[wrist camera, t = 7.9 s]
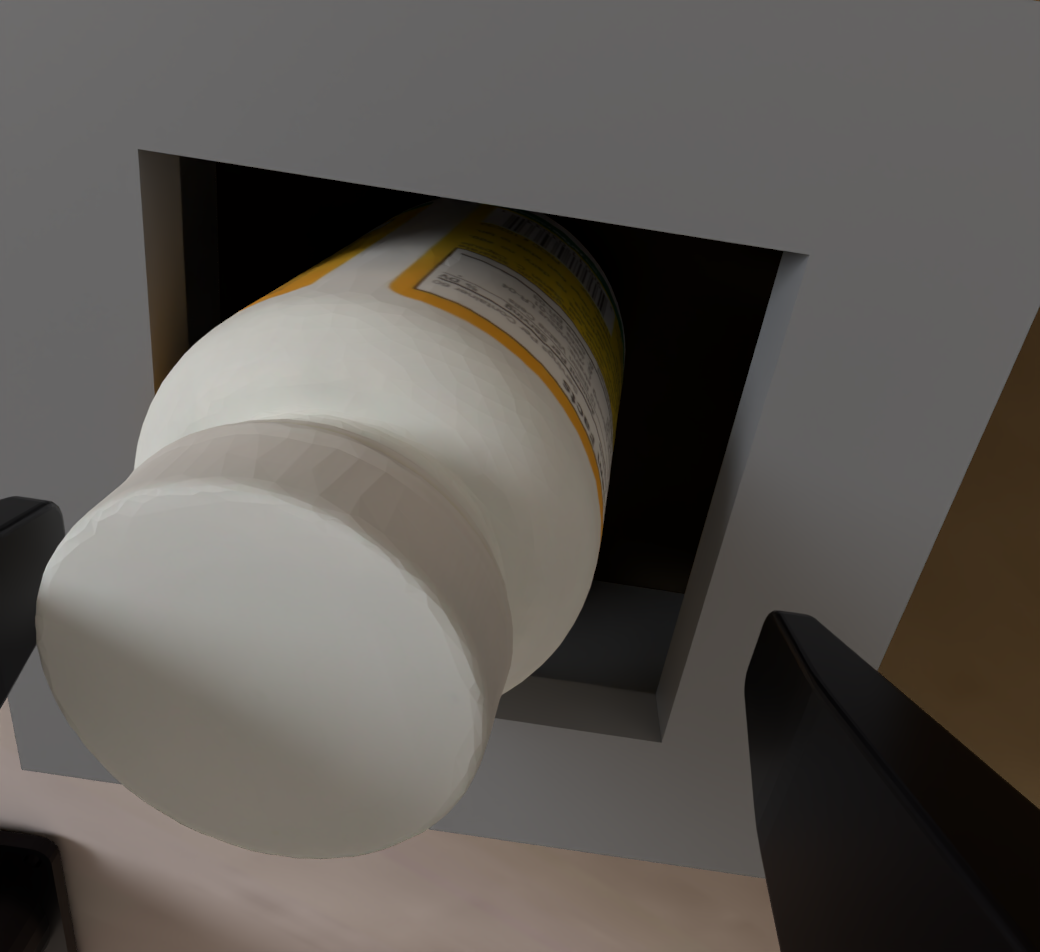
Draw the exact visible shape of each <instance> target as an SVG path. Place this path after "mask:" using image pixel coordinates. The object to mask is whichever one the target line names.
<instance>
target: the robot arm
mask: <svg viewBox="0 0 1040 952" xmlns="http://www.w3.org/2000/svg"><path fill="white" fill-rule="evenodd" d="M65 536H66V535H65V527H64V520H63V515H62V512H61V510H60V508H59V506H58V505H56V504H55V503H54V502H52V501H48V500H41V499H35V498H28V497H22V496H11V497H7V498H4V499H1V500H0V708H1V707H2V705H3V703H4V702H5V700H6V698H7V697H8V695H9V693H10V691H11V689H12V688H13V686H14V684H15V682H16V681H17V679H18V677H19V675H20V673H21V672H22V670H23V668H24V666H25V664H26V663H27V661H28V659H29V657H30V655H31V654H32V652H33V650H34V648H35V647H36V645H37V644H36V628H35V616H36V601H37V597H38V592H39V588H40V584H41V581H42V577H43V573H44V571H45V568H46V566H47V564H48V562H49V560H50V558H51V557H52V555H53V553H54V552H55V550H56V548H57V547H58V545H59V544H60V542H61V541H62V540H63V539H64V537H65ZM744 698H745V710H746V722H747V733H748V745H749V756H750V768H751V780H752V791H753V803H754V813H755V822H756V831H757V837H758V842H759V848H760V853H761V859H762V863H763V868H764V873H765V878H766V883H767V888H768V893H769V897H770V902H771V907H772V912H773V917H774V922H775V927H776V931H777V936H778V941H779V946H780V951H781V952H1040V809H1038V808H1037V807H1036V806H1035V805H1034V804H1033V803H1031V802H1030V801H1029V800H1028V799H1027V798H1026V797H1024V796H1023V795H1022V794H1021V793H1020V792H1019V791H1017V790H1016V789H1015V788H1014V787H1013V786H1011V785H1010V784H1009V783H1008V782H1007V781H1006V780H1004V779H1003V778H1002V777H1001V776H1000V775H999V774H997V773H996V772H995V771H994V770H993V769H992V768H990V767H989V766H988V765H987V764H986V763H984V762H983V761H982V760H981V759H980V758H979V757H977V756H976V755H975V754H974V753H973V752H972V751H970V750H969V749H968V748H967V747H966V746H965V745H963V744H962V743H961V742H960V741H959V740H958V739H956V738H955V737H954V736H953V735H952V734H950V733H949V732H948V731H947V730H946V729H945V728H943V727H942V726H941V725H940V724H939V723H938V722H936V721H935V720H934V719H933V718H932V717H931V716H929V715H928V714H927V713H926V712H925V711H923V710H922V709H921V708H920V707H919V706H918V705H916V704H915V703H914V702H913V701H912V700H911V699H909V698H908V697H907V696H906V695H905V694H904V693H902V692H901V691H900V690H899V689H898V688H896V687H895V686H894V685H893V684H892V683H891V682H889V681H888V680H887V679H886V678H885V677H884V676H882V675H881V674H880V673H879V672H878V671H877V670H875V669H874V668H873V667H872V666H871V665H869V664H868V663H867V662H866V661H865V660H864V659H862V658H861V657H860V656H859V655H858V654H857V653H855V652H854V651H853V650H852V649H851V648H850V647H848V646H847V645H846V644H845V643H844V642H843V641H841V640H840V639H839V638H838V637H837V636H835V635H834V634H833V633H832V632H831V631H830V630H828V629H827V628H826V627H825V626H824V625H823V624H821V623H820V622H819V621H818V620H817V619H815V618H814V617H813V616H810V615H808V614H802V613H795V612H788V611H781V610H774V611H772V612H770V613H769V614H768V616H767V617H766V619H765V621H764V623H763V626H762V629H761V631H760V634H759V637H758V640H757V643H756V646H755V649H754V652H753V654H752V657H751V660H750V663H749V666H748V669H747V672H746V677H745V684H744ZM0 952H77V948H76V942H75V937H74V931H73V925H72V920H71V914H70V908H69V902H68V897H67V891H66V885H65V880H64V874H63V868H62V863H61V857H60V851H59V849H58V847H57V845H55V844H54V843H53V842H52V841H50V840H49V839H47V838H44V837H40V836H34V835H28V834H21V833H14V832H7V831H0Z"/></svg>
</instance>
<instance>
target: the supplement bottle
mask: <svg viewBox="0 0 1040 952" xmlns="http://www.w3.org/2000/svg"><path fill="white" fill-rule="evenodd" d="M625 351H626V350H625V335H624V327H623V322H622V318H621V314H620V310H619V306H618V302H617V300H616V297H615V295H614V292H613V290H612V287H611V285H610V283H609V281H608V279H607V278H606V276H605V274H604V272H603V270H602V269H601V267H600V266H599V264H598V263H597V262H596V260H595V259H594V258H593V256H592V255H591V254H590V252H589V251H588V250H587V249H586V248H585V247H584V246H583V245H582V244H581V243H580V241H579V240H577V239H576V238H575V237H574V236H573V235H572V234H571V233H570V232H569V231H568V230H566V229H565V228H564V227H562V226H561V225H560V224H558V223H557V222H555V221H554V220H552V219H551V218H549V217H548V216H546V215H544V214H542V213H540V212H534V211H528V210H522V209H515V208H509V207H503V206H496V205H490V204H484V203H477V202H471V201H465V200H458V199H452V198H441V199H436V200H432V201H429V202H426V203H423V204H420V205H417V206H415V207H413V208H410V209H408V210H405V211H404V212H402V213H400V214H398V215H396V216H395V217H393V218H391V219H389V220H388V221H386V222H384V223H383V224H381V225H380V226H378V227H376V228H374V229H373V230H371V231H369V232H368V233H366V234H364V235H363V236H361V237H360V238H358V239H357V240H355V241H354V242H352V243H351V244H349V245H348V246H346V247H344V248H343V249H341V250H339V251H338V252H336V253H335V254H333V255H331V256H330V257H328V258H326V259H324V260H323V261H321V262H320V263H318V264H317V265H315V266H313V267H312V268H310V269H308V270H307V271H305V272H303V273H301V274H300V275H298V276H297V277H295V278H294V279H292V280H290V281H289V282H287V283H285V284H284V285H282V286H280V287H279V288H277V289H275V290H274V291H272V292H271V293H269V294H267V295H266V296H264V297H262V298H260V299H259V300H257V301H255V302H254V303H252V304H250V305H248V306H247V307H245V308H243V309H242V310H240V311H238V312H237V313H236V314H234V315H233V316H231V317H230V318H228V319H227V320H225V321H224V322H222V323H221V324H219V325H218V326H216V327H215V328H214V329H212V330H211V331H210V332H209V333H207V334H206V335H205V336H204V337H202V338H201V339H200V340H199V341H198V342H196V343H195V344H194V345H193V346H192V347H191V348H190V349H189V350H188V351H187V352H186V353H185V354H184V355H183V357H182V358H181V359H180V360H179V361H178V363H177V364H176V365H175V366H174V367H173V369H172V370H171V371H170V373H169V374H168V375H167V377H166V378H165V379H164V381H163V382H162V384H161V386H160V388H159V390H158V391H157V393H156V395H155V397H154V399H153V401H152V403H151V405H150V407H149V410H148V412H147V415H146V417H145V420H144V422H143V425H142V429H141V433H140V436H139V440H138V444H137V450H136V458H135V465H134V471H133V472H132V473H131V475H130V476H129V477H128V478H127V479H126V481H125V482H123V483H122V484H121V485H120V486H119V487H118V488H116V489H115V490H114V491H113V492H112V493H110V494H109V495H108V496H107V497H106V498H104V499H103V500H102V501H101V502H100V503H98V504H97V505H96V506H95V507H94V508H92V509H91V510H90V511H89V512H88V513H87V514H86V515H84V516H83V517H82V518H81V519H80V520H79V521H78V522H77V523H76V524H75V525H74V526H73V527H72V528H71V530H70V531H69V532H68V533H67V535H66V536H65V537H64V539H63V540H62V541H61V542H60V544H59V545H58V547H57V548H56V550H55V552H54V553H53V555H52V557H51V558H50V560H49V562H48V564H47V566H46V568H45V571H44V573H43V577H42V581H41V584H40V588H39V592H38V597H37V601H36V616H35V628H36V644H37V648H38V652H39V656H40V660H41V664H42V668H43V672H44V675H45V677H46V680H47V682H48V685H49V687H50V690H51V692H52V694H53V696H54V698H55V701H56V702H57V704H58V706H59V708H60V710H61V712H62V713H63V715H64V717H65V718H66V720H67V722H68V723H69V725H70V727H71V728H72V729H73V730H74V731H75V732H76V733H77V735H78V736H79V738H80V739H81V741H82V742H83V744H84V745H85V746H86V748H87V749H88V750H89V751H90V752H91V753H92V754H93V755H94V756H95V757H96V758H97V759H98V760H99V762H100V763H101V764H102V765H103V766H104V767H105V768H106V769H107V771H108V772H109V773H110V774H111V775H112V776H113V777H114V778H115V779H117V780H118V781H119V782H120V783H121V784H122V785H124V786H125V787H126V788H127V789H129V790H130V791H131V792H133V793H134V794H135V795H136V796H138V797H139V798H140V799H142V800H143V801H144V802H146V803H147V804H149V805H151V806H152V807H154V808H156V809H157V810H159V811H161V812H162V813H164V814H166V815H167V816H169V817H171V818H172V819H174V820H175V821H177V822H179V823H180V824H183V825H185V826H187V827H189V828H191V829H193V830H195V831H198V832H200V833H202V834H205V835H208V836H211V837H214V838H216V839H219V840H221V841H224V842H226V843H229V844H232V845H235V846H238V847H241V848H245V849H248V850H251V851H255V852H260V853H265V854H270V855H279V856H286V857H292V858H307V859H328V858H341V857H354V856H359V855H364V854H369V853H372V852H376V851H380V850H383V849H386V848H389V847H391V846H394V845H396V844H399V843H401V842H403V841H405V840H407V839H410V838H412V837H414V836H416V835H419V834H421V833H423V832H424V831H426V830H428V829H429V828H430V827H431V826H433V825H434V824H435V823H437V822H438V821H439V820H440V819H442V818H443V817H444V816H445V815H446V814H448V812H449V811H450V810H451V809H452V808H453V807H454V806H455V805H456V803H457V802H458V801H459V800H460V799H461V798H462V796H463V795H464V794H465V793H466V791H467V789H468V787H469V785H470V784H471V782H472V780H473V778H474V776H475V774H476V772H477V770H478V768H479V766H480V764H481V761H482V758H483V755H484V752H485V749H486V746H487V743H488V739H489V736H490V733H491V730H492V726H493V722H494V719H495V715H496V711H497V708H498V704H499V700H500V698H501V695H502V694H504V693H506V692H507V691H509V690H510V689H512V688H514V687H515V686H517V685H518V684H520V683H521V682H522V681H524V680H525V679H526V678H527V677H528V676H530V675H531V674H532V673H533V672H534V671H535V670H537V669H538V668H539V667H540V666H541V665H542V664H543V663H544V662H545V661H546V660H547V659H548V658H549V657H550V656H551V655H552V654H553V653H554V651H555V650H556V649H557V648H558V647H559V646H560V644H561V643H562V641H563V640H564V638H565V637H566V635H567V634H568V632H569V631H570V629H571V628H572V626H573V625H574V623H575V621H576V619H577V617H578V615H579V613H580V611H581V609H582V607H583V605H584V602H585V600H586V597H587V595H588V592H589V590H590V587H591V583H592V580H593V576H594V573H595V569H596V565H597V560H598V555H599V549H600V543H601V537H602V530H603V524H604V514H605V507H606V500H607V493H608V486H609V479H610V471H611V463H612V455H613V449H614V442H615V434H616V426H617V418H618V411H619V405H620V397H621V391H622V385H623V376H624V365H625Z"/></svg>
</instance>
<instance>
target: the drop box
mask: <svg viewBox="0 0 1040 952" xmlns="http://www.w3.org/2000/svg"><path fill="white" fill-rule="evenodd" d="M216 161H217V162H224V163H230V164H236V165H243V166H249V167H255V168H262V169H268V170H274V171H281V172H287V173H294V174H300V175H306V176H313V177H319V178H325V179H332V180H338V181H344V182H351V183H357V184H363V185H370V186H376V187H382V188H389V189H395V190H401V191H408V192H414V193H420V194H427V195H433V196H439V197H446V198H452V199H458V200H465V201H471V202H477V203H484V204H490V205H496V206H503V207H509V208H515V209H522V210H528V211H534V212H541V213H547V214H553V215H560V216H566V217H572V218H579V219H585V220H591V221H598V222H604V223H610V224H617V225H623V226H629V227H636V228H642V229H648V230H655V231H661V232H667V233H674V234H680V235H686V236H693V237H699V238H705V239H712V240H718V241H724V242H731V243H737V244H743V245H750V246H756V247H762V248H769V249H775V250H781V251H783V254H782V258H781V261H780V265H779V268H778V272H777V275H776V279H775V282H774V286H773V289H772V293H771V296H770V299H769V303H768V306H767V310H766V313H765V317H764V320H763V324H762V327H761V331H760V334H759V338H758V341H757V345H756V348H755V352H754V355H753V358H752V362H751V365H750V369H749V372H748V376H747V379H746V383H745V386H744V390H743V393H742V397H741V400H740V404H739V407H738V411H737V414H736V417H735V421H734V424H733V428H732V431H731V435H730V438H729V442H728V445H727V449H726V452H725V456H724V459H723V463H722V466H721V469H720V473H719V476H718V480H717V483H716V487H715V490H714V494H713V497H712V501H711V504H710V508H709V511H708V515H707V518H706V522H705V525H704V528H703V532H702V535H701V539H700V542H699V546H698V549H697V553H696V556H695V560H694V563H693V567H692V570H691V574H690V577H689V581H688V584H687V587H686V591H685V594H682V593H675V592H669V591H662V590H656V589H649V588H642V587H636V586H629V585H623V584H616V583H609V582H603V581H596V580H592V583H591V587H590V590H589V592H588V595H587V597H586V600H585V602H584V605H583V607H582V609H581V611H580V613H579V615H578V617H577V619H576V621H575V623H574V625H573V626H572V628H571V629H570V631H569V632H568V634H567V635H566V637H565V638H564V640H563V641H562V643H561V644H560V646H559V647H558V648H557V649H556V650H555V651H554V653H553V654H552V655H551V656H550V657H549V658H548V659H547V660H546V661H545V662H544V663H543V664H542V665H541V666H540V667H539V668H538V669H537V670H535V671H534V672H533V673H532V674H531V675H530V676H528V677H527V678H526V679H525V680H524V681H522V682H521V683H520V684H518V685H517V686H515V687H514V688H512V689H510V690H509V691H507V692H506V693H504V694H502V695H501V698H500V700H499V704H498V708H497V711H496V715H495V719H494V722H493V726H492V730H491V733H490V736H489V739H488V743H487V746H486V749H485V752H484V755H483V758H482V761H481V764H480V766H479V768H478V770H477V772H476V774H475V776H474V778H473V780H472V782H471V784H470V785H469V787H468V789H467V791H466V793H465V794H464V795H463V796H462V798H461V799H460V800H459V801H458V802H457V803H456V805H455V806H454V807H453V808H452V809H451V810H450V811H449V812H448V814H446V815H445V816H444V817H443V818H442V819H440V820H439V821H438V822H437V823H435V824H434V825H433V826H431V827H430V828H429V829H430V830H437V831H444V832H451V833H458V834H464V835H471V836H478V837H485V838H492V839H499V840H505V841H512V842H519V843H526V844H533V845H540V846H546V847H553V848H560V849H567V850H574V851H580V852H587V853H594V854H601V855H608V856H615V857H621V858H628V859H635V860H642V861H649V862H656V863H662V864H669V865H676V866H683V867H690V868H697V869H703V870H710V871H717V872H724V873H731V874H737V875H744V876H751V877H758V878H765V873H764V868H763V863H762V859H761V853H760V848H759V842H758V837H757V831H756V822H755V813H754V803H753V791H752V780H751V768H750V756H749V745H748V733H747V722H746V710H745V698H744V684H745V677H746V672H747V669H748V666H749V663H750V660H751V657H752V654H753V652H754V649H755V646H756V643H757V640H758V637H759V634H760V631H761V629H762V626H763V623H764V621H765V619H766V617H767V616H768V614H769V613H770V612H772V611H774V610H781V611H788V612H795V613H802V614H808V615H810V616H813V617H814V618H815V619H817V620H818V621H819V622H820V623H821V624H823V625H824V626H825V627H826V628H827V629H828V630H830V631H831V632H832V633H833V634H834V635H835V636H837V637H838V638H839V639H840V640H841V641H843V642H844V643H845V644H846V645H847V646H848V647H850V648H851V649H852V650H853V651H854V652H855V653H857V654H858V655H859V656H860V657H861V658H862V659H864V660H865V661H866V662H867V663H868V664H869V665H871V666H872V667H873V668H874V669H875V670H878V668H879V666H880V664H881V661H882V659H883V657H884V655H885V652H886V650H887V648H888V646H889V643H890V641H891V639H892V637H893V634H894V632H895V630H896V628H897V625H898V623H899V621H900V619H901V617H902V614H903V612H904V610H905V608H906V605H907V603H908V601H909V599H910V596H911V594H912V592H913V590H914V587H915V585H916V583H917V581H918V578H919V576H920V574H921V572H922V569H923V567H924V565H925V563H926V560H927V558H928V556H929V554H930V551H931V549H932V547H933V545H934V542H935V540H936V538H937V536H938V533H939V531H940V529H941V527H942V524H943V522H944V520H945V518H946V515H947V513H948V511H949V509H950V506H951V504H952V502H953V500H954V497H955V495H956V493H957V491H958V488H959V486H960V484H961V482H962V479H963V477H964V475H965V473H966V471H967V468H968V466H969V464H970V462H971V459H972V457H973V455H974V453H975V450H976V448H977V446H978V444H979V441H980V439H981V437H982V435H983V432H984V430H985V428H986V426H987V423H988V421H989V419H990V417H991V414H992V412H993V410H994V408H995V405H996V403H997V401H998V399H999V396H1000V394H1001V392H1002V390H1003V387H1004V385H1005V383H1006V381H1007V378H1008V376H1009V374H1010V372H1011V369H1012V367H1013V365H1014V363H1015V360H1016V358H1017V356H1018V354H1019V351H1020V349H1021V347H1022V345H1023V342H1024V340H1025V338H1026V336H1027V333H1028V331H1029V329H1030V327H1031V324H1032V322H1033V320H1034V318H1035V316H1036V313H1037V311H1038V309H1039V307H1040V2H1039V1H1033V0H0V500H1V499H4V498H7V497H11V496H22V497H28V498H35V499H41V500H48V501H52V502H54V503H55V504H56V505H58V506H59V508H60V510H61V512H62V515H63V520H64V527H65V535H67V533H68V532H69V531H70V530H71V528H72V527H73V526H74V525H75V524H76V523H77V522H78V521H79V520H80V519H81V518H82V517H83V516H84V515H86V514H87V513H88V512H89V511H90V510H91V509H92V508H94V507H95V506H96V505H97V504H98V503H100V502H101V501H102V500H103V499H104V498H106V497H107V496H108V495H109V494H110V493H112V492H113V491H114V490H115V489H116V488H118V487H119V486H120V485H121V484H122V483H123V482H125V481H126V479H127V478H128V477H129V476H130V475H131V473H132V472H133V471H134V465H135V458H136V450H137V444H138V440H139V436H140V433H141V429H142V425H143V422H144V420H145V417H146V415H147V412H148V410H149V407H150V405H151V403H152V401H153V399H154V397H155V395H156V393H157V391H158V390H159V388H160V386H161V384H162V382H163V381H164V379H165V378H166V377H167V375H168V374H169V373H170V371H171V370H172V369H173V367H174V366H175V365H176V364H177V363H178V361H179V360H180V359H181V358H182V357H183V355H184V354H185V353H186V352H187V351H188V350H189V349H190V348H191V347H192V346H193V345H194V344H195V343H196V342H198V341H199V340H200V339H201V338H202V337H204V336H205V335H206V334H207V333H209V332H210V331H211V330H212V329H214V328H215V327H216V326H218V325H219V324H220V292H219V256H218V220H217V184H216ZM8 702H9V707H10V712H11V717H12V722H13V727H14V733H15V738H16V743H17V748H18V753H19V758H20V763H21V769H22V770H28V771H34V772H41V773H48V774H55V775H62V776H69V777H75V778H82V779H89V780H96V781H103V782H109V783H116V784H121V783H120V782H119V781H118V780H117V779H115V778H114V777H113V776H112V775H111V774H110V773H109V772H108V771H107V769H106V768H105V767H104V766H103V765H102V764H101V763H100V762H99V760H98V759H97V758H96V757H95V756H94V755H93V754H92V753H91V752H90V751H89V750H88V749H87V748H86V746H85V745H84V744H83V742H82V741H81V739H80V738H79V736H78V735H77V733H76V732H75V731H74V730H73V729H72V728H71V727H70V725H69V723H68V722H67V720H66V718H65V717H64V715H63V713H62V712H61V710H60V708H59V706H58V704H57V702H56V701H55V698H54V696H53V694H52V692H51V690H50V687H49V685H48V682H47V680H46V677H45V675H44V672H43V668H42V664H41V660H40V656H39V652H38V648H37V645H36V647H35V648H34V650H33V652H32V654H31V655H30V657H29V659H28V661H27V663H26V664H25V666H24V668H23V670H22V672H21V673H20V675H19V677H18V679H17V681H16V682H15V684H14V686H13V688H12V689H11V691H10V693H9V695H8ZM765 879H766V878H765Z"/></svg>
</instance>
